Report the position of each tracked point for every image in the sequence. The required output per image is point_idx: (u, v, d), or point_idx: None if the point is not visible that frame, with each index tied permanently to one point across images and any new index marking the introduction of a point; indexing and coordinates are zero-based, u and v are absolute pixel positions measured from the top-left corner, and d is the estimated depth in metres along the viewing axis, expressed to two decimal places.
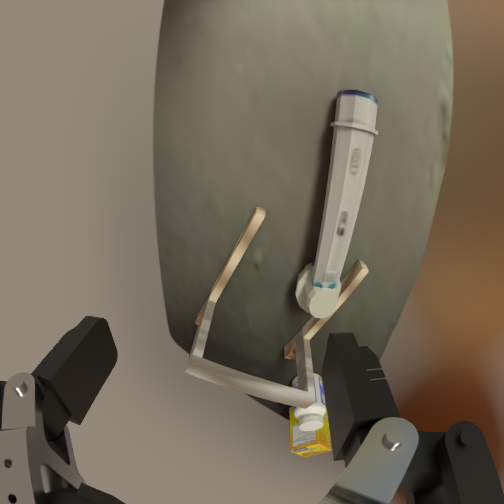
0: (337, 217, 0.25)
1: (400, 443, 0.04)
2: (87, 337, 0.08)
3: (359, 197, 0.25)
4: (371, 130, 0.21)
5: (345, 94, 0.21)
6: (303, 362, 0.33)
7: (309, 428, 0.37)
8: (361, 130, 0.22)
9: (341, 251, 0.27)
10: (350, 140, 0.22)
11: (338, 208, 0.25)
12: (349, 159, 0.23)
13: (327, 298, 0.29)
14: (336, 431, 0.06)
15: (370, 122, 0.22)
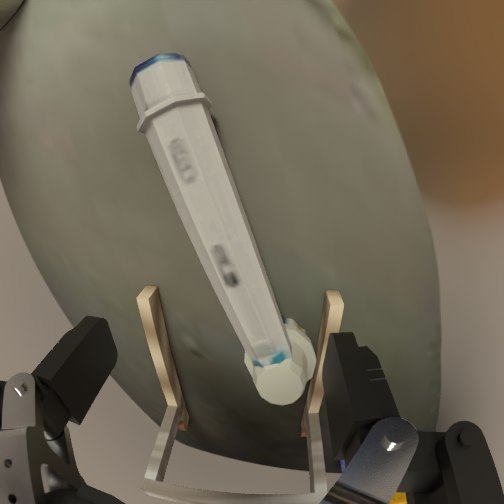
0: (211, 261, 0.15)
1: (400, 443, 0.04)
2: (87, 337, 0.08)
3: (231, 209, 0.15)
4: (178, 98, 0.12)
5: (132, 83, 0.13)
6: (310, 448, 0.20)
7: None
8: (165, 110, 0.13)
9: (253, 307, 0.16)
10: (158, 136, 0.13)
11: (204, 247, 0.15)
12: (171, 164, 0.14)
13: (280, 378, 0.17)
14: (336, 431, 0.06)
15: (178, 88, 0.13)
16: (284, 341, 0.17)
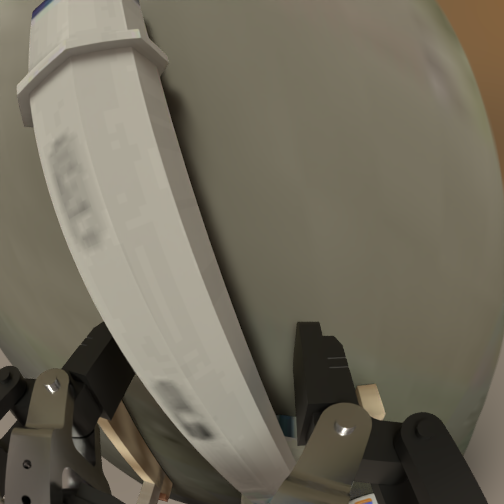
0: None
1: (352, 427, 0.05)
2: None
3: (193, 308, 0.06)
4: (74, 43, 0.04)
5: None
6: None
7: None
8: (50, 74, 0.04)
9: (241, 463, 0.07)
10: (35, 133, 0.04)
11: None
12: (55, 199, 0.05)
13: None
14: (299, 416, 0.07)
15: (86, 27, 0.04)
16: None
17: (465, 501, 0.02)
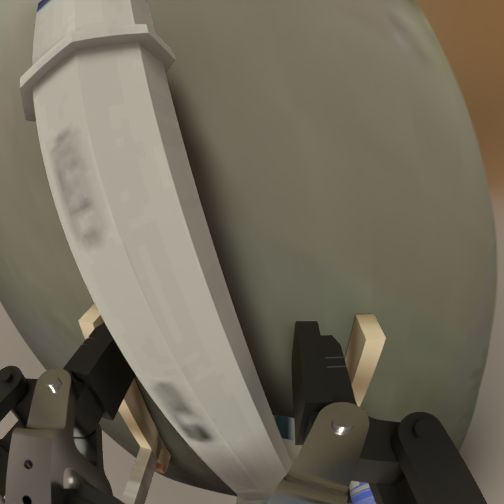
0: None
1: (350, 427, 0.05)
2: None
3: (195, 310, 0.06)
4: (80, 36, 0.03)
5: None
6: None
7: None
8: (55, 68, 0.04)
9: (239, 465, 0.07)
10: (37, 127, 0.04)
11: None
12: (56, 194, 0.05)
13: None
14: (296, 415, 0.07)
15: (93, 20, 0.04)
16: None
17: (463, 501, 0.02)
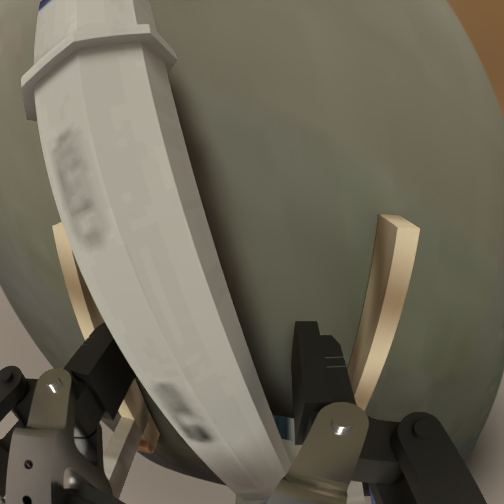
0: None
1: (349, 426, 0.05)
2: None
3: (196, 311, 0.06)
4: (82, 36, 0.03)
5: None
6: None
7: None
8: (56, 67, 0.04)
9: (238, 465, 0.07)
10: None
11: None
12: (57, 195, 0.05)
13: None
14: (296, 415, 0.07)
15: (95, 20, 0.04)
16: None
17: (463, 500, 0.02)
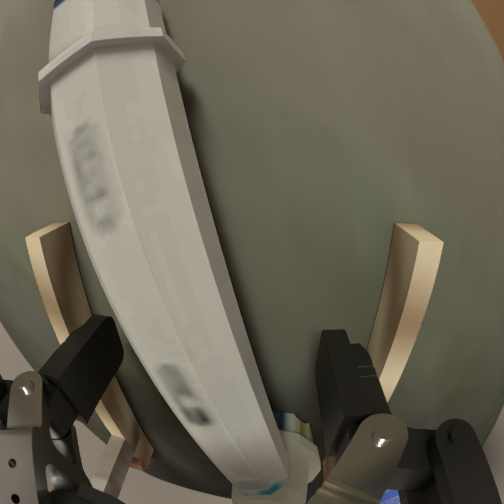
0: (158, 386, 0.07)
1: (389, 439, 0.04)
2: (94, 335, 0.08)
3: (200, 294, 0.06)
4: (99, 36, 0.04)
5: (50, 30, 0.05)
6: None
7: None
8: (74, 64, 0.04)
9: (236, 450, 0.07)
10: (55, 120, 0.05)
11: (143, 361, 0.06)
12: (72, 183, 0.05)
13: None
14: (328, 427, 0.06)
15: (110, 21, 0.04)
16: (281, 472, 0.09)
17: None
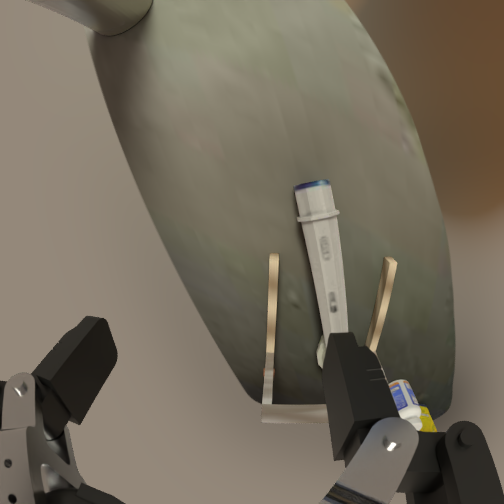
0: (326, 299, 0.29)
1: (400, 443, 0.04)
2: (87, 337, 0.08)
3: (341, 274, 0.28)
4: (330, 215, 0.26)
5: (297, 190, 0.27)
6: None
7: None
8: (321, 219, 0.26)
9: (340, 323, 0.29)
10: (314, 232, 0.27)
11: (325, 292, 0.28)
12: (319, 248, 0.27)
13: None
14: (336, 431, 0.06)
15: (328, 206, 0.27)
16: None
17: None
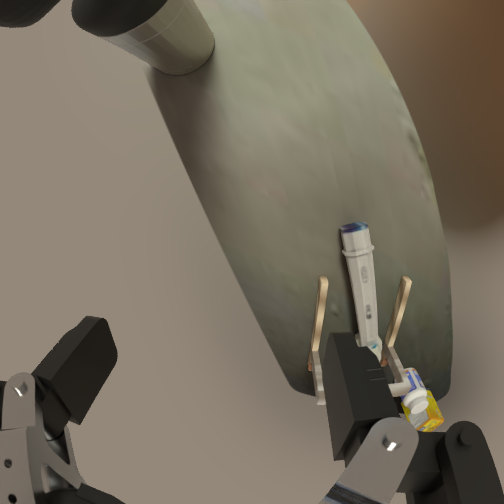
0: (363, 310, 0.37)
1: (400, 443, 0.04)
2: (87, 337, 0.08)
3: (374, 291, 0.37)
4: (368, 251, 0.35)
5: (345, 232, 0.35)
6: (393, 363, 0.39)
7: (419, 409, 0.39)
8: (362, 254, 0.35)
9: (372, 326, 0.38)
10: (357, 263, 0.35)
11: (363, 305, 0.37)
12: (360, 275, 0.36)
13: None
14: (336, 431, 0.06)
15: (367, 244, 0.35)
16: (377, 339, 0.39)
17: None
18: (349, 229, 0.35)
